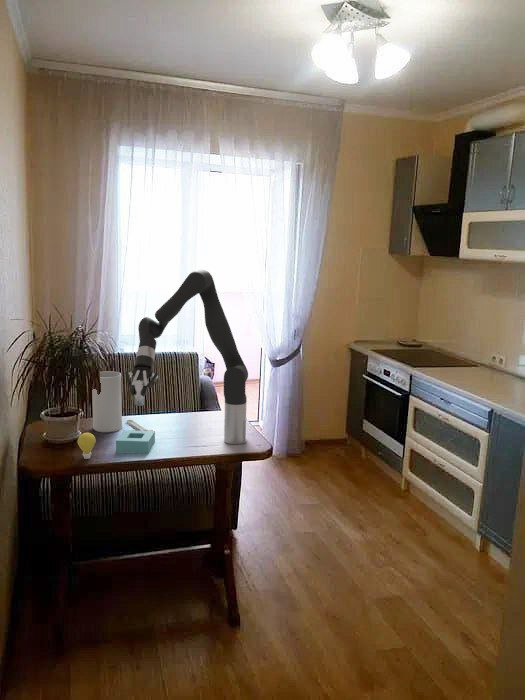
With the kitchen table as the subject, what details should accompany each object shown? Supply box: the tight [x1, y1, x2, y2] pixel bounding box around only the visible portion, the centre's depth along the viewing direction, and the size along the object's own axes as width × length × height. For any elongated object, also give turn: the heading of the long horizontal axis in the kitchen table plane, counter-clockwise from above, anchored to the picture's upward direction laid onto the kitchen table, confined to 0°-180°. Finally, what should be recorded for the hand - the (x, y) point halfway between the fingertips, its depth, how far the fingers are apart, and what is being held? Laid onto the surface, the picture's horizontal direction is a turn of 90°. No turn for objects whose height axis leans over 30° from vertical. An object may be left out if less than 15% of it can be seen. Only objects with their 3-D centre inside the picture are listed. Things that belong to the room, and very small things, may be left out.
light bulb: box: [77, 432, 97, 460], centre depth 217 cm, size 7×7×10 cm
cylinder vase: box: [91, 370, 123, 433], centre depth 251 cm, size 12×12×25 cm
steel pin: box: [134, 379, 145, 407], centre depth 227 cm, size 4×4×10 cm
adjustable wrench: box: [126, 419, 154, 431], centre depth 254 cm, size 25×6×2 cm, turn 30°
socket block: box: [115, 429, 156, 454], centre depth 230 cm, size 13×13×5 cm
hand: (138, 395), depth 225 cm, fingers closed on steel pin, 3 cm apart
